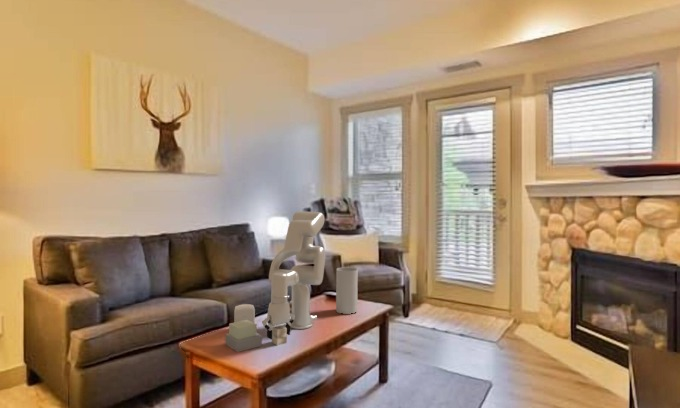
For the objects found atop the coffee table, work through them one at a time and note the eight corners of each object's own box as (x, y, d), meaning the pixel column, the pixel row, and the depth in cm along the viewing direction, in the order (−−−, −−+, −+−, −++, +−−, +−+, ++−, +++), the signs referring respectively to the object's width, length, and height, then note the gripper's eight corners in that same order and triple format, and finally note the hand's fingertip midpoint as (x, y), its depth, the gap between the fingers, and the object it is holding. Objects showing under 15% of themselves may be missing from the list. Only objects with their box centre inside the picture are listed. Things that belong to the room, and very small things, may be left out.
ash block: (280, 340, 197) (280, 325, 197) (286, 343, 193) (286, 328, 193) (271, 342, 194) (271, 327, 194) (277, 345, 190) (277, 330, 190)
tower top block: (246, 330, 197) (246, 319, 196) (256, 335, 190) (256, 324, 190) (229, 334, 191) (229, 323, 190) (238, 339, 184) (238, 328, 184)
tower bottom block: (248, 339, 199) (249, 328, 199) (261, 346, 190) (261, 335, 190) (225, 344, 191) (225, 334, 191) (237, 352, 182) (237, 341, 182)
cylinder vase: (336, 308, 251) (337, 267, 251) (357, 308, 251) (357, 267, 250) (335, 314, 239) (336, 271, 238) (357, 314, 238) (357, 271, 238)
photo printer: (234, 330, 209) (234, 306, 209) (234, 327, 214) (234, 303, 213) (254, 329, 212) (255, 305, 212) (254, 326, 216) (254, 302, 216)
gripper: (290, 295, 201) (289, 330, 201) (258, 300, 190) (258, 337, 190) (299, 298, 195) (298, 334, 196) (267, 303, 184) (266, 342, 184)
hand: (278, 336), depth 193 cm, fingers open, 9 cm apart
